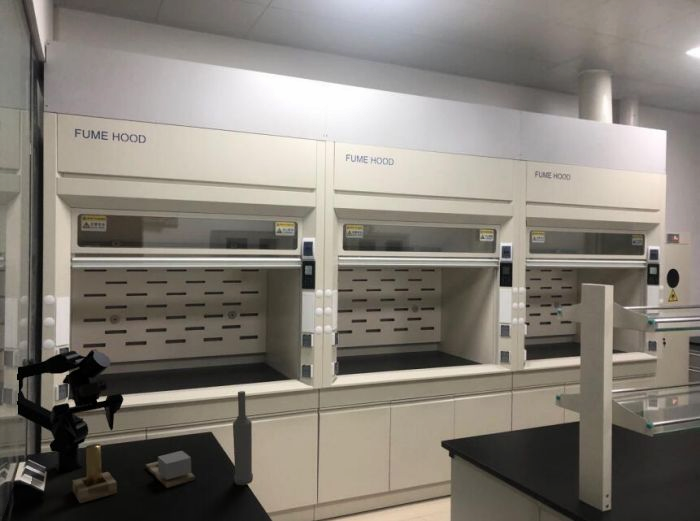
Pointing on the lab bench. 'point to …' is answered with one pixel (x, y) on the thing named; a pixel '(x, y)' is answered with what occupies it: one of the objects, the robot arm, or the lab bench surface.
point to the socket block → (94, 488)
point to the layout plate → (170, 482)
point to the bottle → (242, 444)
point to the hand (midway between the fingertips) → (95, 433)
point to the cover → (174, 465)
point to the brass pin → (93, 464)
